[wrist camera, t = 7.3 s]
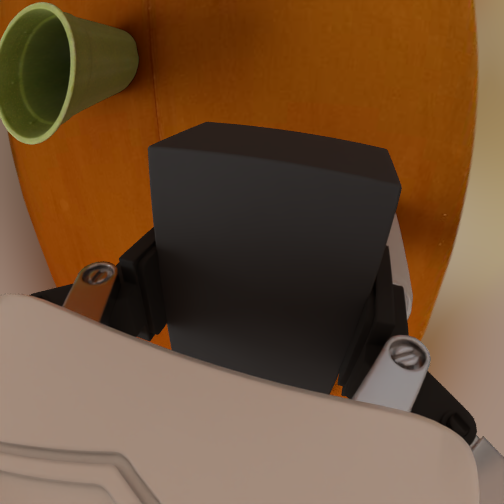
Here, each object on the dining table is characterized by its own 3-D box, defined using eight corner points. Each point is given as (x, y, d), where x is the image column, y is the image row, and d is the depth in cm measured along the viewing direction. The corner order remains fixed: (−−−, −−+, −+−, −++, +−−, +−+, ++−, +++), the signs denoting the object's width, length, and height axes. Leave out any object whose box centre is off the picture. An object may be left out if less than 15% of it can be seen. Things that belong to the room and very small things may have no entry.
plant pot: (155, 120, 28) (72, 153, 19) (72, 109, 30) (-6, 138, 21) (170, 4, 22) (83, -11, 13) (80, 12, 23) (-4, 16, 14)
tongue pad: (387, 148, 9) (402, 186, 6) (320, 381, 15) (307, 440, 12) (205, 121, 10) (146, 146, 7) (209, 352, 17) (182, 403, 14)
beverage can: (400, 199, 26) (422, 280, 16) (393, 247, 28) (403, 341, 18) (346, 193, 27) (338, 272, 17) (343, 242, 30) (331, 334, 20)
